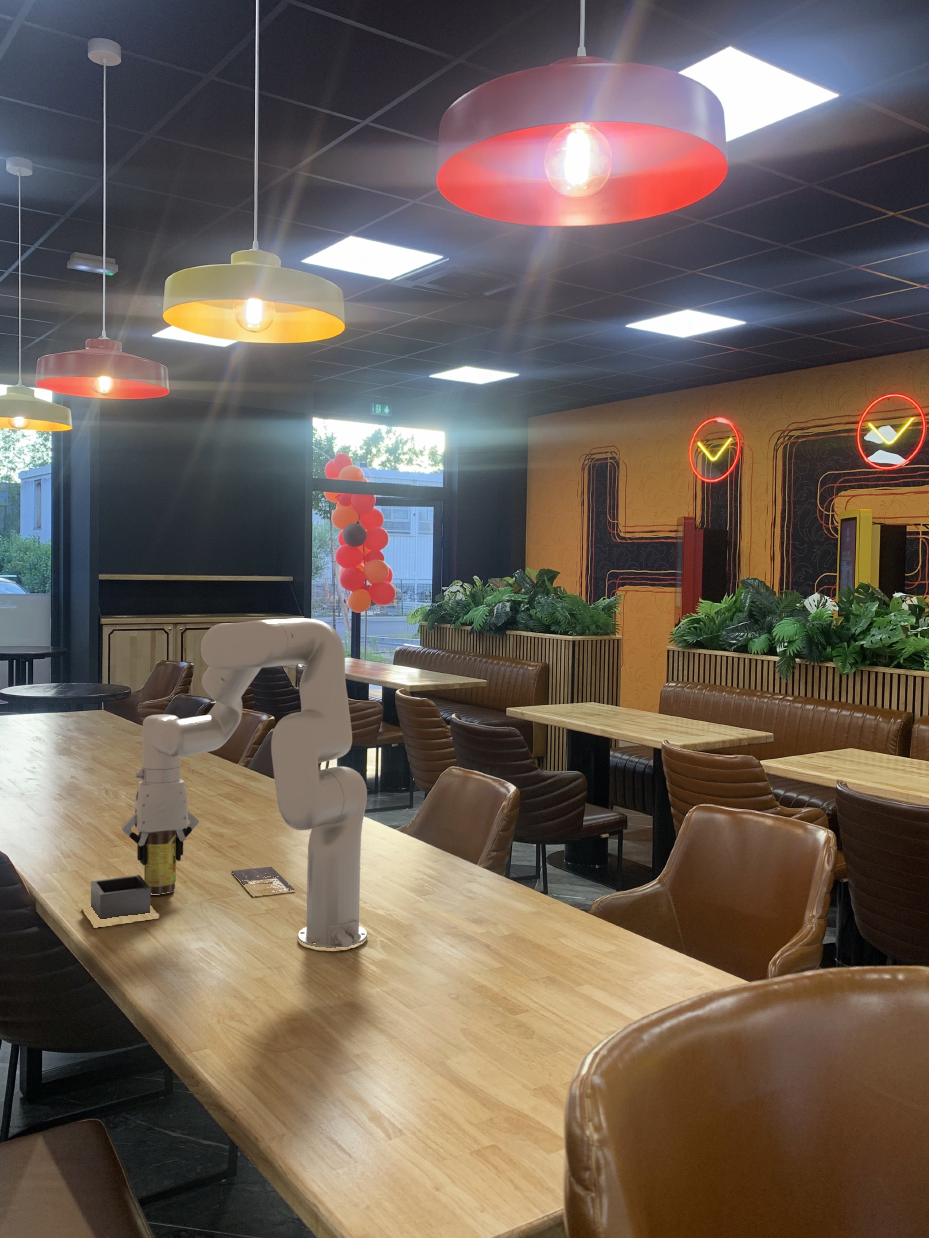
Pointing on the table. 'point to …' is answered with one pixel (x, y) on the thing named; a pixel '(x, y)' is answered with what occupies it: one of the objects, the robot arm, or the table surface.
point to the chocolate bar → (261, 872)
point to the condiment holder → (120, 897)
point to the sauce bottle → (161, 862)
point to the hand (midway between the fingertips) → (160, 860)
